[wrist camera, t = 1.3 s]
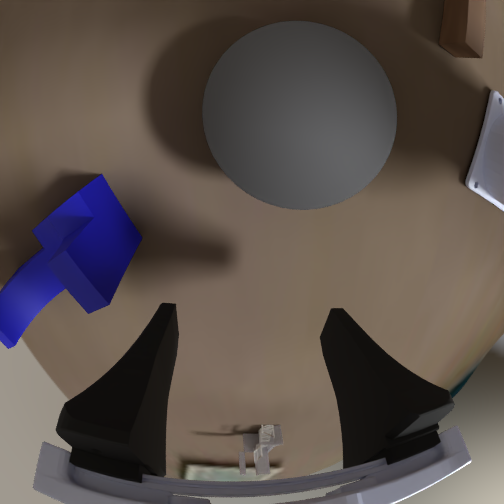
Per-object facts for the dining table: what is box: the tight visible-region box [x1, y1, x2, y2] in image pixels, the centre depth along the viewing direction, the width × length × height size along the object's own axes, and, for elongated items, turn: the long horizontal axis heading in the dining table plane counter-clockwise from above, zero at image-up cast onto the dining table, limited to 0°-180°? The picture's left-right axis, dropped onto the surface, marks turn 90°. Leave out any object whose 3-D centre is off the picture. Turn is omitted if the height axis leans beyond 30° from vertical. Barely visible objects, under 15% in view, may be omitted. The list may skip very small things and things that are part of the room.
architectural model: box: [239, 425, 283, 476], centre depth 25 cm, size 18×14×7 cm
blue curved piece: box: [0, 174, 142, 349], centre depth 13 cm, size 12×4×6 cm, turn 114°
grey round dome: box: [202, 21, 397, 210], centre depth 11 cm, size 8×8×4 cm
